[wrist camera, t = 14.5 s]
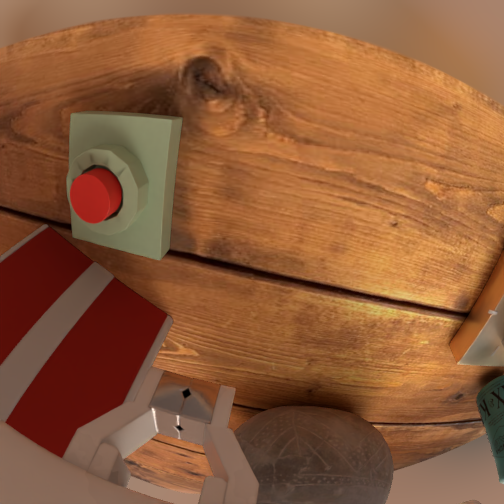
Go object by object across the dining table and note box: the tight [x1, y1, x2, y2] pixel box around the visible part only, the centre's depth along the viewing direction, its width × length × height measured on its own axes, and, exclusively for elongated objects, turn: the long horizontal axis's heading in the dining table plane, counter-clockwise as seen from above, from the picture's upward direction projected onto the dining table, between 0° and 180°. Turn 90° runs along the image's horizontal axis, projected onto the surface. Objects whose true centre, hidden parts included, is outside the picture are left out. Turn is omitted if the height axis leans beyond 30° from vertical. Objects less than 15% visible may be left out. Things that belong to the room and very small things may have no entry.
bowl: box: [233, 406, 393, 504], centre depth 29 cm, size 21×21×15 cm
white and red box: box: [0, 224, 173, 458], centre depth 19 cm, size 17×18×27 cm
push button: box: [70, 168, 122, 224], centre depth 19 cm, size 4×4×2 cm
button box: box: [66, 111, 183, 260], centre depth 21 cm, size 11×9×4 cm
